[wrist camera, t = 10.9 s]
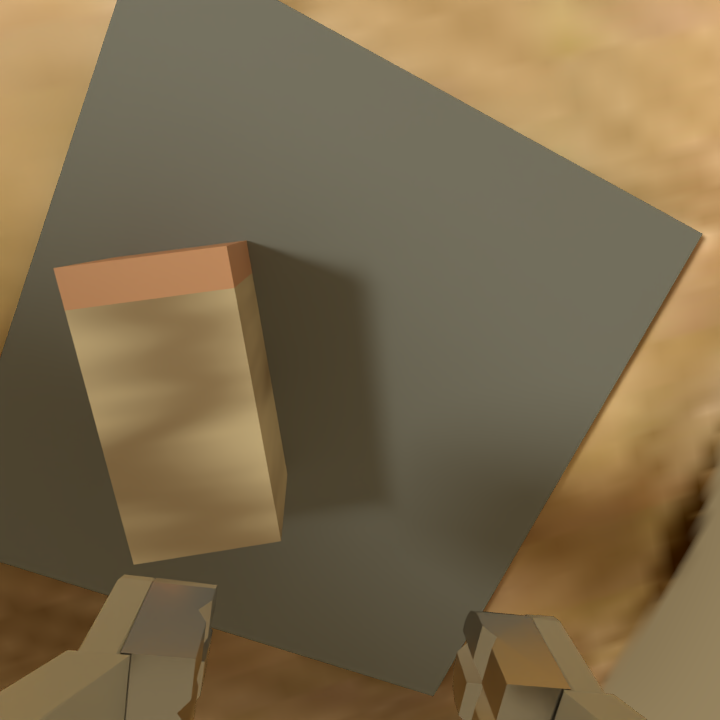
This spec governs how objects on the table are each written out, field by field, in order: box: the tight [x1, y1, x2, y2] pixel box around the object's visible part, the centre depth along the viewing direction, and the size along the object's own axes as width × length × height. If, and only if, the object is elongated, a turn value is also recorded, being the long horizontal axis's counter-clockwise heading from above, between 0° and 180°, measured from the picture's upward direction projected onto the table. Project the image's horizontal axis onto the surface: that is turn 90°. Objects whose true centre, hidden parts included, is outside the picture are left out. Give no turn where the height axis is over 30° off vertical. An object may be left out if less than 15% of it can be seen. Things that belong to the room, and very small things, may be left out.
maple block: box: [53, 240, 287, 565], centre depth 15 cm, size 4×4×8 cm
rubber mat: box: [0, 0, 702, 696], centre depth 18 cm, size 19×20×1 cm
